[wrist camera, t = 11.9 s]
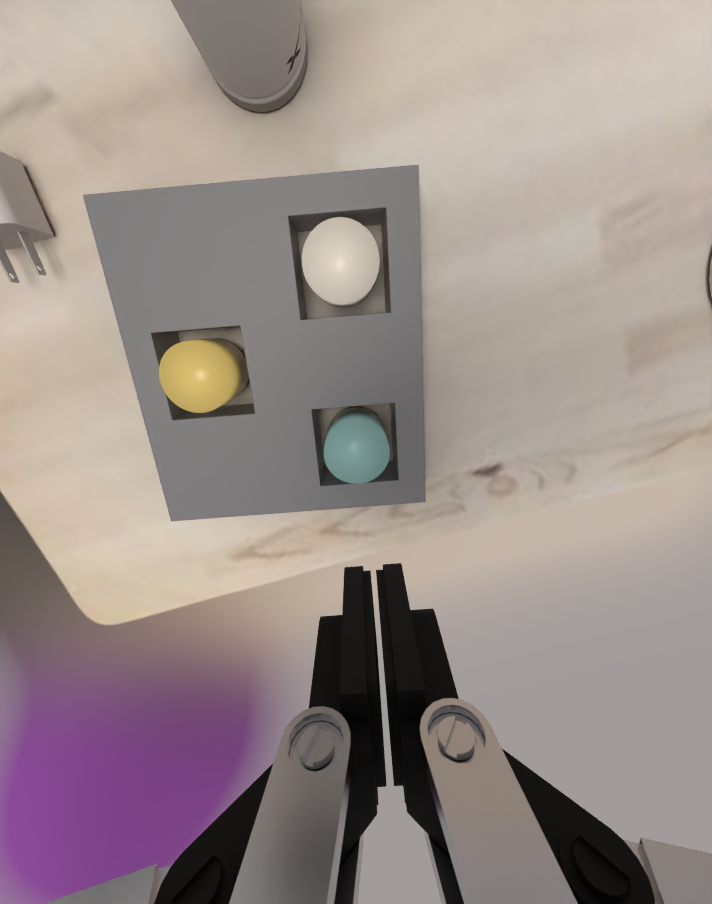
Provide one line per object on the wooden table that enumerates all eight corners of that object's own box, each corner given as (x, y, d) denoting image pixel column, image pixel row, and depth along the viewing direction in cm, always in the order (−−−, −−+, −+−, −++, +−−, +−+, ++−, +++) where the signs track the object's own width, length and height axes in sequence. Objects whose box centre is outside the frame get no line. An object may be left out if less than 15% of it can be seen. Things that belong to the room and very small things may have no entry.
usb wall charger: (27, 164, 25) (-31, 136, 21) (76, 274, 27) (31, 266, 23) (-26, 181, 25) (-93, 155, 22) (26, 288, 27) (-27, 282, 24)
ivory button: (373, 232, 25) (377, 213, 21) (377, 304, 27) (381, 300, 23) (306, 237, 25) (297, 220, 21) (313, 309, 27) (306, 306, 23)
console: (408, 188, 26) (418, 164, 22) (416, 481, 33) (425, 501, 29) (122, 213, 26) (82, 194, 22) (191, 498, 33) (171, 521, 29)
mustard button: (242, 336, 27) (223, 337, 23) (253, 397, 29) (236, 410, 25) (181, 341, 27) (150, 344, 23) (194, 402, 29) (168, 415, 25)
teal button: (382, 405, 29) (388, 418, 25) (385, 459, 31) (391, 481, 27) (324, 409, 29) (320, 424, 25) (330, 464, 31) (327, 486, 27)
